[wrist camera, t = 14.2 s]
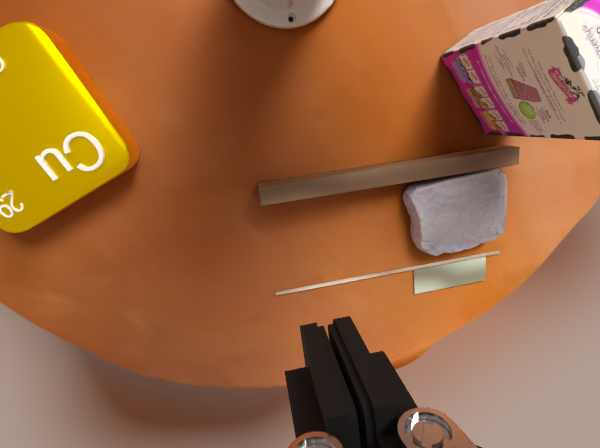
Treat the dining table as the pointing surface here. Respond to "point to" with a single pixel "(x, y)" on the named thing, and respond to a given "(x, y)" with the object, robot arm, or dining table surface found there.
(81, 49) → the dining table surface
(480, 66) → the candy bar box
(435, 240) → the stone block
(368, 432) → the robot arm
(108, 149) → the element tile
